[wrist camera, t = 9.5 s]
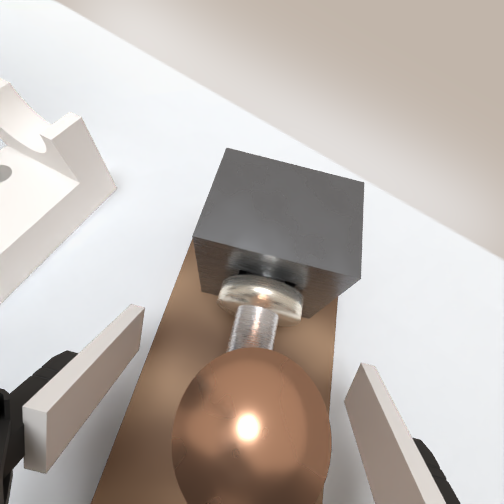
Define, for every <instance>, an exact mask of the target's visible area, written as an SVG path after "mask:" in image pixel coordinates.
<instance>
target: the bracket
mask: <svg viewBox="0 0 504 504" xmlns="http://www.w3.org/2000/svg"><path fill="white" fill-rule="evenodd" d="M0 138H1V139H2V140H3V141H4V142H5V144H6V145H7V146H5V147H4V148H2V149H1V150H0V304H1V303H2V302H3V301H4V300H5V299H6V298H7V297H8V296H9V295H10V294H11V293H12V292H13V291H14V290H15V289H16V288H17V287H18V286H19V285H20V284H21V283H22V282H23V281H24V280H25V279H26V278H27V277H28V276H29V275H30V274H31V273H32V272H33V271H34V270H35V269H36V268H37V267H38V266H39V265H40V264H41V263H42V262H43V261H44V260H45V259H47V258H48V257H49V256H50V255H51V254H52V253H53V252H54V251H55V250H56V249H57V248H58V247H59V246H60V245H61V244H62V243H63V242H64V241H65V240H66V239H67V238H68V237H69V236H70V235H71V234H72V233H73V232H74V231H75V230H76V229H77V228H78V227H79V226H80V225H81V224H82V223H83V222H84V221H85V220H86V219H87V218H88V217H89V216H90V215H91V214H92V213H93V212H94V211H95V210H96V209H97V208H98V207H99V206H100V205H101V204H102V203H103V202H104V201H105V200H106V199H107V198H108V197H109V196H110V195H111V194H112V193H113V192H114V191H115V190H116V189H117V187H116V185H115V183H114V181H113V179H112V177H111V175H110V173H109V171H108V169H107V167H106V165H105V163H104V161H103V159H102V157H101V155H100V153H99V151H98V149H97V147H96V145H95V143H94V141H93V139H92V137H91V135H90V133H89V131H88V129H87V127H86V125H85V123H84V121H83V119H82V117H80V116H78V115H76V114H74V113H72V112H69V113H68V114H66V115H65V116H63V117H62V118H61V119H59V120H58V121H56V122H55V123H54V124H52V125H51V124H50V123H48V122H47V121H46V120H44V119H43V118H42V117H41V116H40V115H38V114H37V113H36V112H35V111H34V110H33V109H32V108H31V107H30V106H29V105H28V104H27V103H26V102H25V101H24V100H23V99H22V98H21V96H20V95H19V94H18V93H17V92H16V90H15V89H14V88H13V86H12V85H11V84H10V82H8V81H6V80H4V79H1V78H0Z"/></svg>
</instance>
